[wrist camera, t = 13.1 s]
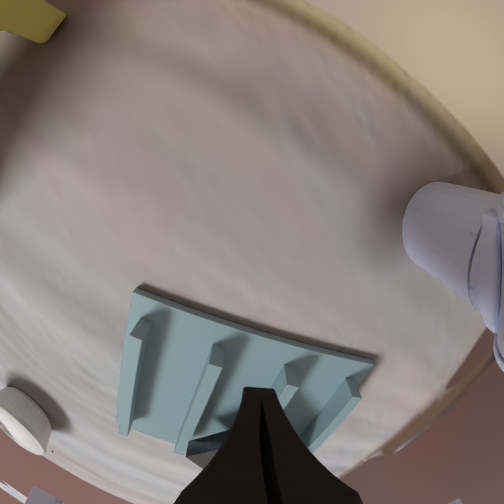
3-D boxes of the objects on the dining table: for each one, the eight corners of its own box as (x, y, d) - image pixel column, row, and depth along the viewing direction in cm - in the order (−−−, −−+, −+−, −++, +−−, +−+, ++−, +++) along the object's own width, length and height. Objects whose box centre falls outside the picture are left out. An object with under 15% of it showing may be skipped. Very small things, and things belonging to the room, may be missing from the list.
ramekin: (-7, 382, 27) (-23, 401, 22) (19, 376, 25) (0, 399, 20) (36, 432, 30) (24, 452, 25) (70, 433, 28) (57, 458, 23)
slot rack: (371, 359, 23) (383, 382, 20) (288, 461, 28) (290, 481, 25) (136, 287, 21) (119, 307, 18) (118, 417, 26) (109, 437, 23)
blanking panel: (252, 439, 19) (185, 456, 20) (295, 473, 21) (235, 487, 22) (252, 421, 21) (188, 440, 22) (293, 457, 23) (235, 473, 24)
